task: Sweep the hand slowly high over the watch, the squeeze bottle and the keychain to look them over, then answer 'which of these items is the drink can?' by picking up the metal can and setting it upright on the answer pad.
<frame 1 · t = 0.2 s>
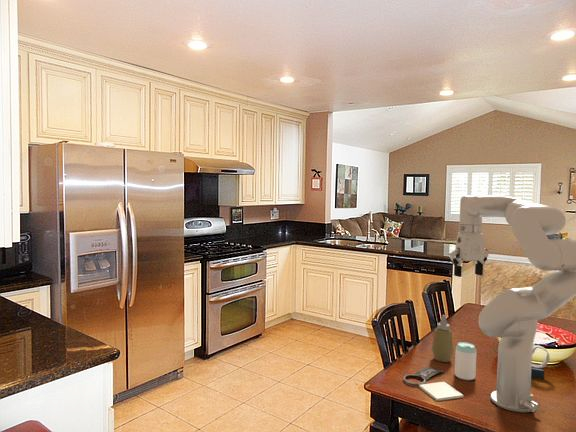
hand: (468, 275, 156), 36 cm above the table, tool pointing down, fingers open, 9 cm apart
watch: (535, 375, 156), on the table
answer pad: (440, 392, 142), on the table
keychain: (423, 379, 153), on the table
squeeze bottle: (442, 360, 170), on the table
can: (464, 377, 154), on the table
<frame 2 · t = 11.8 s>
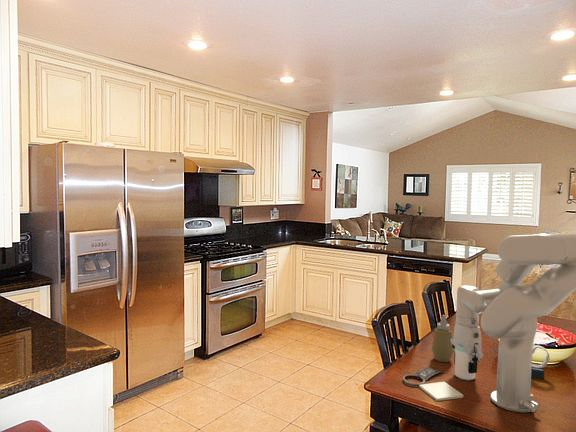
hand: (465, 368, 153), 3 cm above the table, tool pointing down, fingers closed on can, 7 cm apart
can: (464, 377, 154), on the table, touching gripper
everything else where it was.
when the fingers open (5 cm above the table, at t = 18.5 s): can drops 1 cm, resting on answer pad.
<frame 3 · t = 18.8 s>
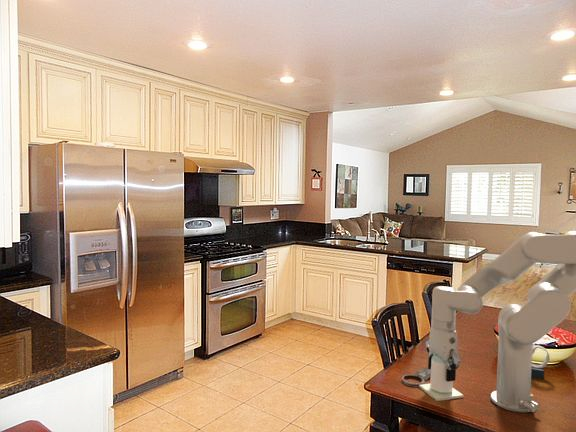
hand: (441, 374, 141), 6 cm above the table, tool pointing down, fingers open, 9 cm apart
can: (441, 390, 141), point 1 cm above the table, touching answer pad
everything else where it was.
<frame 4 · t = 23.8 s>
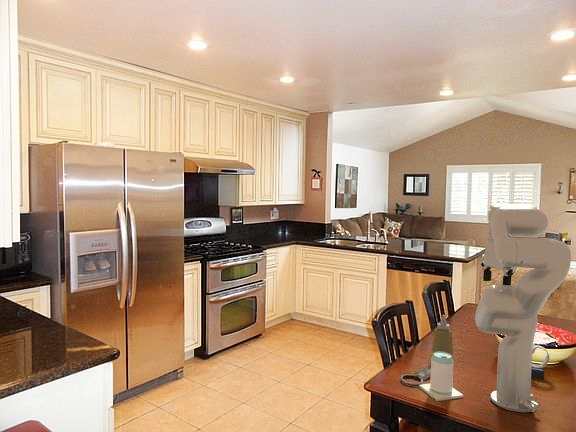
hand: (496, 283, 157), 33 cm above the table, tool pointing down, fingers open, 9 cm apart
nothing on the table moved.
at the end: can 0.1 cm off-centre on the answer pad, point 0.6 cm above the answer pad's base; can tilted 0°; the gripper is holding nothing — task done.
